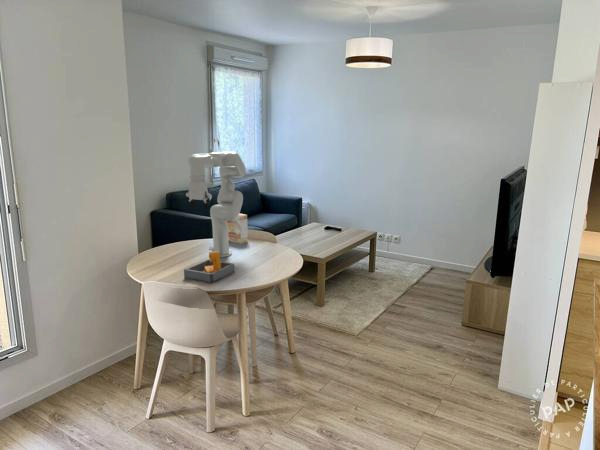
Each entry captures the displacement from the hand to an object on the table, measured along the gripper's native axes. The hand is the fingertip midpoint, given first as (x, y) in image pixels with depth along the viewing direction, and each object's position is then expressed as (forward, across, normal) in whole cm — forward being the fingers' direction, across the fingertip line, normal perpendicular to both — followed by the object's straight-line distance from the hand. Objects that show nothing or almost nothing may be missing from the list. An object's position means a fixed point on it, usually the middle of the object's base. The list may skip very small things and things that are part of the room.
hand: (199, 209), depth 245 cm
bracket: (+32, +14, -9) cm, 37 cm away
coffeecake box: (+34, -15, +57) cm, 68 cm away
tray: (+33, +13, -10) cm, 37 cm away
